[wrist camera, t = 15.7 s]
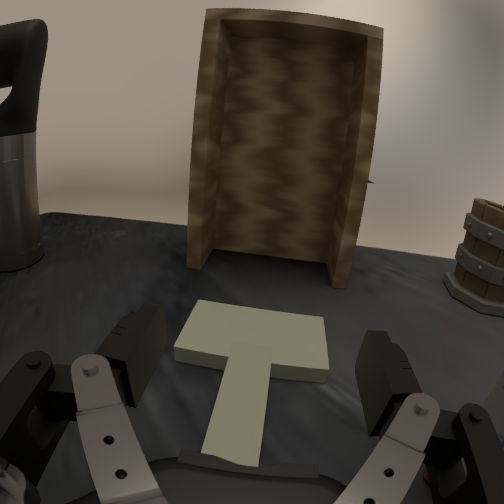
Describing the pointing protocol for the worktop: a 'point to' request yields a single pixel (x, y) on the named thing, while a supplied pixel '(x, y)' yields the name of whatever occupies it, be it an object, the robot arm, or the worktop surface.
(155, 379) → the worktop surface
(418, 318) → the worktop surface
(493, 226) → the tankard
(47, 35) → the robot arm
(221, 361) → the sage mallet
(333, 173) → the wooden crate
